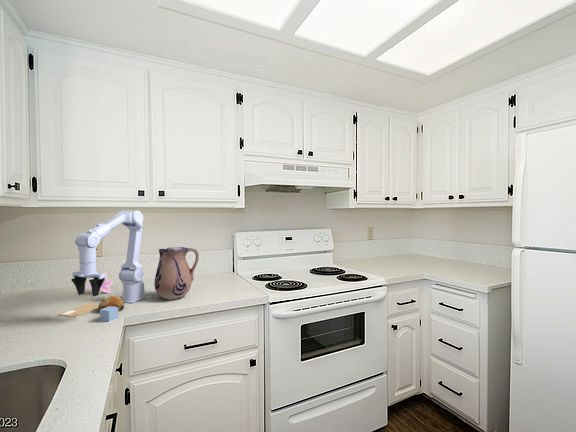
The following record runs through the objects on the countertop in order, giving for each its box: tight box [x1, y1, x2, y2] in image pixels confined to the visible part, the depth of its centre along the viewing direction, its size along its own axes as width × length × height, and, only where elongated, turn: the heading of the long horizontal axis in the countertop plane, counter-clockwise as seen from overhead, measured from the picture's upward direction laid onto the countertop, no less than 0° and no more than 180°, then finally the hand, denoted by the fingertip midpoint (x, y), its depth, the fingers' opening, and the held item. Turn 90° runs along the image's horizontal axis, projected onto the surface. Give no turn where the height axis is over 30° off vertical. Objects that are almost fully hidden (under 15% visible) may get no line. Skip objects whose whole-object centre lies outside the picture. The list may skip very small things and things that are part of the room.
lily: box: [85, 272, 115, 294], centre depth 160 cm, size 12×12×10 cm
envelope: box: [56, 302, 100, 318], centre depth 133 cm, size 16×10×1 cm, turn 165°
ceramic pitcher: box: [153, 246, 200, 301], centre depth 153 cm, size 18×21×25 cm
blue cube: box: [99, 306, 119, 323], centre depth 122 cm, size 4×4×4 cm
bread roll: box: [97, 295, 126, 313], centre depth 134 cm, size 10×10×8 cm
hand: (88, 295), depth 124 cm, fingers open, 7 cm apart
